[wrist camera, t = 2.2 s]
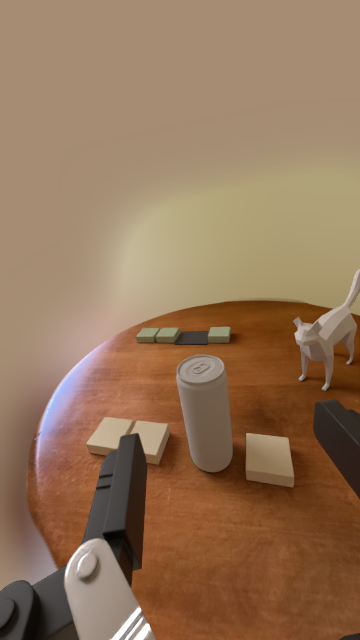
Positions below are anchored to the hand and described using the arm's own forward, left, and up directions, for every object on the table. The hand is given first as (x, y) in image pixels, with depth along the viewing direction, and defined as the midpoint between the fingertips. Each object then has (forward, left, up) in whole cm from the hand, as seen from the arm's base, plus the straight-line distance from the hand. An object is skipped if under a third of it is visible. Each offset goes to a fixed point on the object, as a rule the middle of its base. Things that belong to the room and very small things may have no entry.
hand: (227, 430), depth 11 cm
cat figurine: (+12, +29, -16) cm, 35 cm away
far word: (-14, +39, -16) cm, 44 cm away
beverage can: (-4, +11, -16) cm, 20 cm away
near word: (-8, +11, -16) cm, 21 cm away
